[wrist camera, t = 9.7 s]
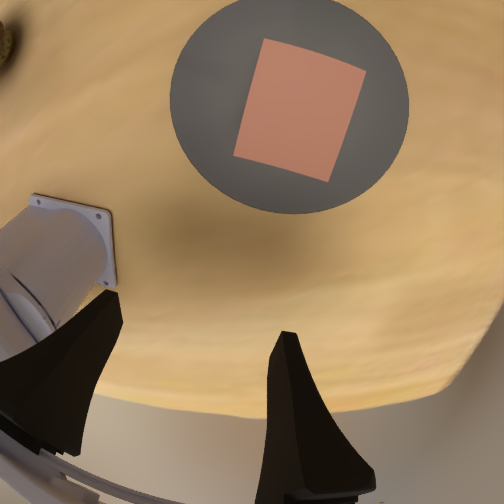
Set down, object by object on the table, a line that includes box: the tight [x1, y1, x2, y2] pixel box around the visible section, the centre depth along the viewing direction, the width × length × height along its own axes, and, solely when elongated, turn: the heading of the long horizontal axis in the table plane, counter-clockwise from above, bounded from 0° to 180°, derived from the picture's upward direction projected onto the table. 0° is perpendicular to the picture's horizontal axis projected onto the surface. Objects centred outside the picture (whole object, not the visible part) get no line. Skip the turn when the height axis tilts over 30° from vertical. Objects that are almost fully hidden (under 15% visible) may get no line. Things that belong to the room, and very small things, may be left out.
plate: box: [170, 0, 409, 214], centre depth 14 cm, size 14×14×1 cm
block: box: [233, 38, 366, 182], centre depth 11 cm, size 4×5×5 cm
